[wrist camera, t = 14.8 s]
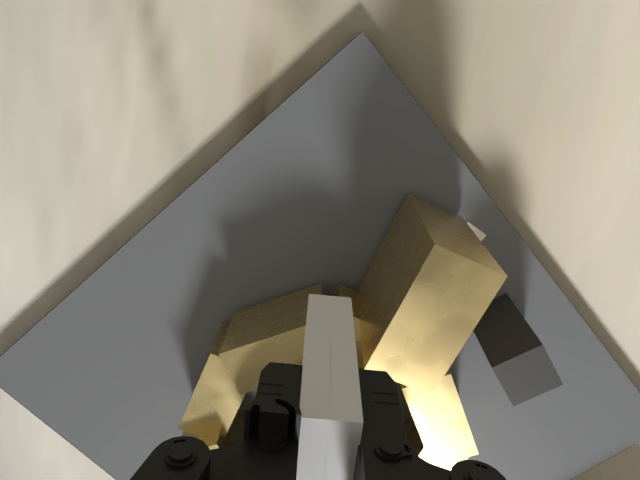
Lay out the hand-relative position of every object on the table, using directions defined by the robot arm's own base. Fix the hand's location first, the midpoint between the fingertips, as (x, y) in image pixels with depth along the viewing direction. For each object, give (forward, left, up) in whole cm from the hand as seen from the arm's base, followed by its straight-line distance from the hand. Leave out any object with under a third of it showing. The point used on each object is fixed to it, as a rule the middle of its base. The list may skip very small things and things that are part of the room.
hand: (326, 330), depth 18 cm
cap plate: (-7, +6, -10) cm, 14 cm away
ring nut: (-6, +4, -8) cm, 11 cm away
